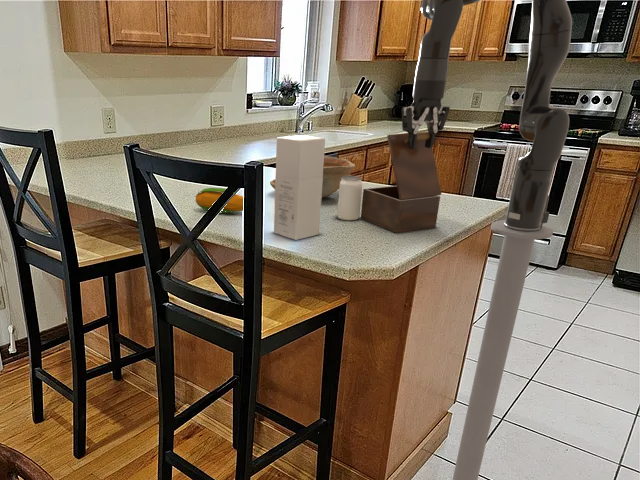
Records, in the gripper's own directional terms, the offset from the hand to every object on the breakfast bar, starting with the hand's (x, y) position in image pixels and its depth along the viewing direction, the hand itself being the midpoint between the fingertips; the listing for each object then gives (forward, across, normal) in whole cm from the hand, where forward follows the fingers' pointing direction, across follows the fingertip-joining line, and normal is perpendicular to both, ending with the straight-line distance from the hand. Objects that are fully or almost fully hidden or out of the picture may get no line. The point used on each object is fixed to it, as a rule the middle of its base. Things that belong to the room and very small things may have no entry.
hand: (420, 147), depth 138 cm
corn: (+23, -41, +36) cm, 59 cm away
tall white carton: (+22, -32, +7) cm, 40 cm away
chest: (+22, 0, +5) cm, 22 cm away
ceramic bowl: (+23, -5, +45) cm, 51 cm away
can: (+22, -10, +15) cm, 29 cm away
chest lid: (+5, 0, +1) cm, 5 cm away
